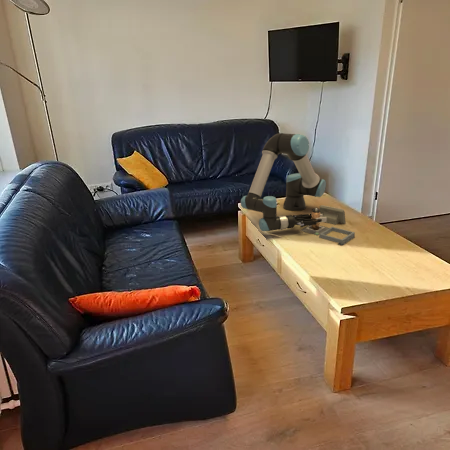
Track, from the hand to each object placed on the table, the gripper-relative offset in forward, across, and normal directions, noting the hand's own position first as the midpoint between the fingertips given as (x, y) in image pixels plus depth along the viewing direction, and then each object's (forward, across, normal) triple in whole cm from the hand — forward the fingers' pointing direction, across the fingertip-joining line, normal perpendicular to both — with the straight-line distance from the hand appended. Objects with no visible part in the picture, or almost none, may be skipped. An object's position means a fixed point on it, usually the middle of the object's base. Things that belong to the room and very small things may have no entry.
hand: (324, 217), depth 230 cm
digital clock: (+10, -9, -8) cm, 15 cm away
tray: (+2, +13, -8) cm, 15 cm away
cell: (-5, 0, -7) cm, 8 cm away
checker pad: (-5, 0, -8) cm, 9 cm away
